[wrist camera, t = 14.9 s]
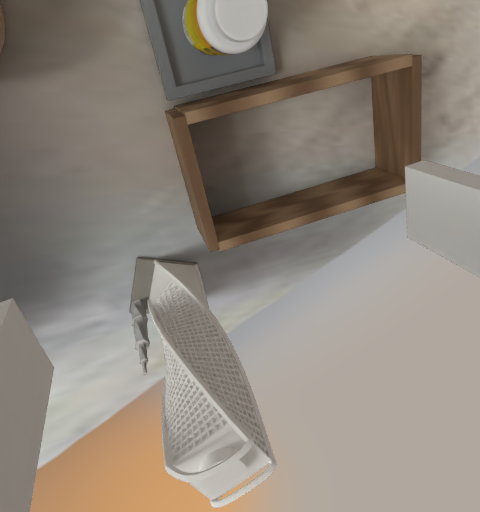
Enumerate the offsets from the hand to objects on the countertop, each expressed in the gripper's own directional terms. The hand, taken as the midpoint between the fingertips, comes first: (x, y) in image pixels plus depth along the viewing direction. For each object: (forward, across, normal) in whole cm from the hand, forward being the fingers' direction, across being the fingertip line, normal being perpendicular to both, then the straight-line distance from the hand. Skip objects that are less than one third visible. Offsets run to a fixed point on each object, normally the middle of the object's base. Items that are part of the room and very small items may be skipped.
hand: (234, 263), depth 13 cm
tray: (+31, +8, +8) cm, 34 cm away
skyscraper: (+32, -3, -17) cm, 36 cm away
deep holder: (+31, +14, -5) cm, 35 cm away
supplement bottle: (+31, +9, +8) cm, 33 cm away
